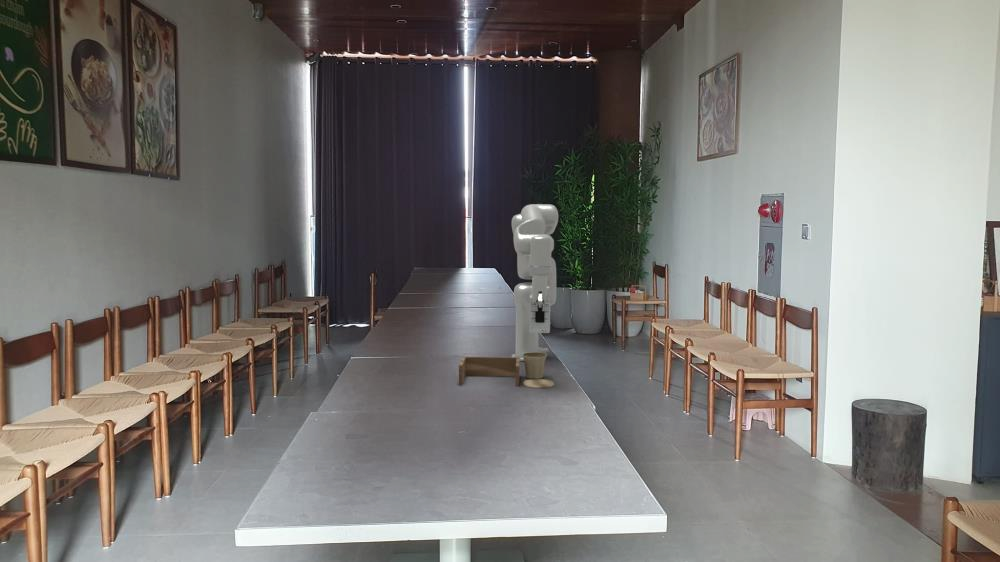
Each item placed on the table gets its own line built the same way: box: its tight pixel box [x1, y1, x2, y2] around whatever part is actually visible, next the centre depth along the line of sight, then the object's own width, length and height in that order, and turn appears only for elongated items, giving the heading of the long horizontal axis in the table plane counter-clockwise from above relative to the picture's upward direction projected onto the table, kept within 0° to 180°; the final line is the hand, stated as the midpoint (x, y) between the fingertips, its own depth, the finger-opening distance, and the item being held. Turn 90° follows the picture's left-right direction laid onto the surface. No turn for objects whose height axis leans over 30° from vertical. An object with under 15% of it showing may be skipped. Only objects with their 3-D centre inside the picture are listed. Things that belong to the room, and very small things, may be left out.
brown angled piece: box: [458, 356, 521, 387], centre depth 274 cm, size 15×21×7 cm
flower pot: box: [522, 352, 548, 380], centre depth 279 cm, size 9×9×9 cm
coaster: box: [523, 378, 555, 389], centre depth 269 cm, size 11×11×1 cm
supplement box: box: [529, 295, 551, 334], centre depth 266 cm, size 7×7×13 cm
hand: (539, 320), depth 267 cm, fingers closed on supplement box, 7 cm apart
